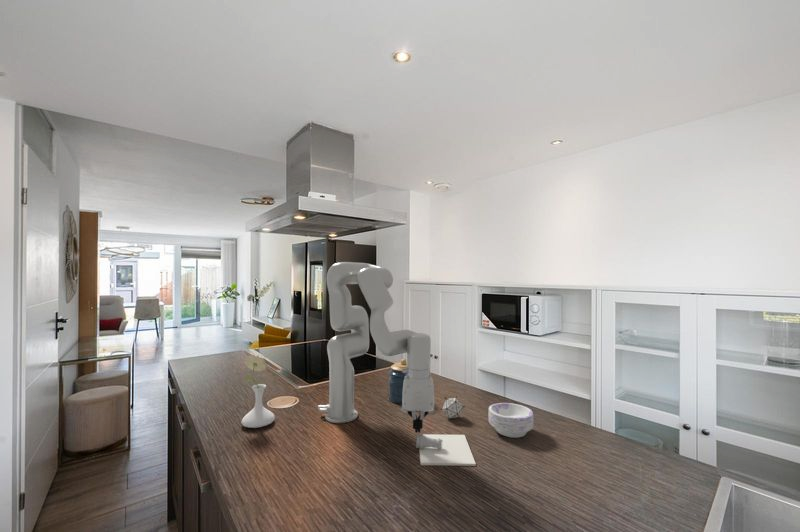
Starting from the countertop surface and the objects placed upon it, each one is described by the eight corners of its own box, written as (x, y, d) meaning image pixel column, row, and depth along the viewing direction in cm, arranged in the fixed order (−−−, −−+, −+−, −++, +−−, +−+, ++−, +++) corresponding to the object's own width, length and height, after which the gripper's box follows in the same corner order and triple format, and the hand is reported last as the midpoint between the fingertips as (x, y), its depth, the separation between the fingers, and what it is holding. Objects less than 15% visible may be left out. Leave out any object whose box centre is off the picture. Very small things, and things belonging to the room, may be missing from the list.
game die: (456, 429, 132) (464, 414, 126) (435, 419, 134) (442, 404, 128) (461, 410, 139) (469, 396, 134) (441, 401, 141) (448, 386, 135)
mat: (420, 465, 101) (420, 462, 101) (417, 435, 119) (418, 434, 119) (475, 465, 100) (475, 463, 100) (464, 436, 118) (464, 434, 118)
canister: (383, 401, 150) (384, 360, 150) (395, 392, 162) (395, 354, 162) (411, 406, 145) (412, 364, 146) (421, 396, 157) (422, 357, 158)
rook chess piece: (417, 429, 111) (442, 433, 110) (416, 442, 112) (441, 445, 111) (416, 438, 107) (442, 442, 106) (415, 451, 108) (441, 455, 107)
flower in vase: (281, 421, 129) (282, 354, 130) (257, 433, 119) (258, 361, 120) (256, 414, 135) (257, 350, 135) (230, 426, 125) (232, 356, 125)
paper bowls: (501, 419, 133) (501, 398, 133) (540, 432, 122) (540, 409, 122) (480, 431, 122) (480, 409, 123) (520, 447, 112) (520, 422, 112)
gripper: (394, 376, 106) (394, 436, 106) (443, 376, 106) (442, 436, 106) (395, 369, 114) (394, 425, 114) (440, 369, 114) (439, 425, 114)
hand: (417, 430), depth 110 cm, fingers closed
